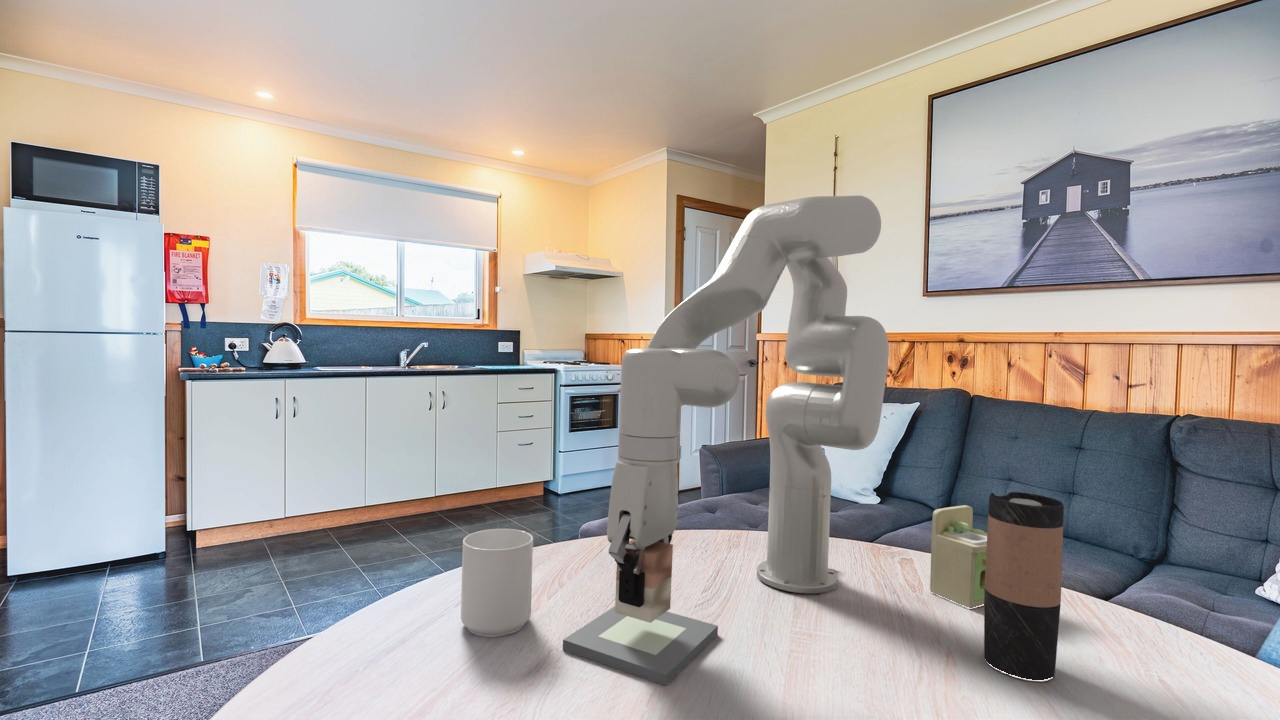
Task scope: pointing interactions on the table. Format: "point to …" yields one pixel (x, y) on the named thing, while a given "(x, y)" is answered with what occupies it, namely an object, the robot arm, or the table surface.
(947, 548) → the toy sink
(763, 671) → the table surface
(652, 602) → the brick stack
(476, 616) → the mug
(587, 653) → the base board
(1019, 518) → the travel mug
